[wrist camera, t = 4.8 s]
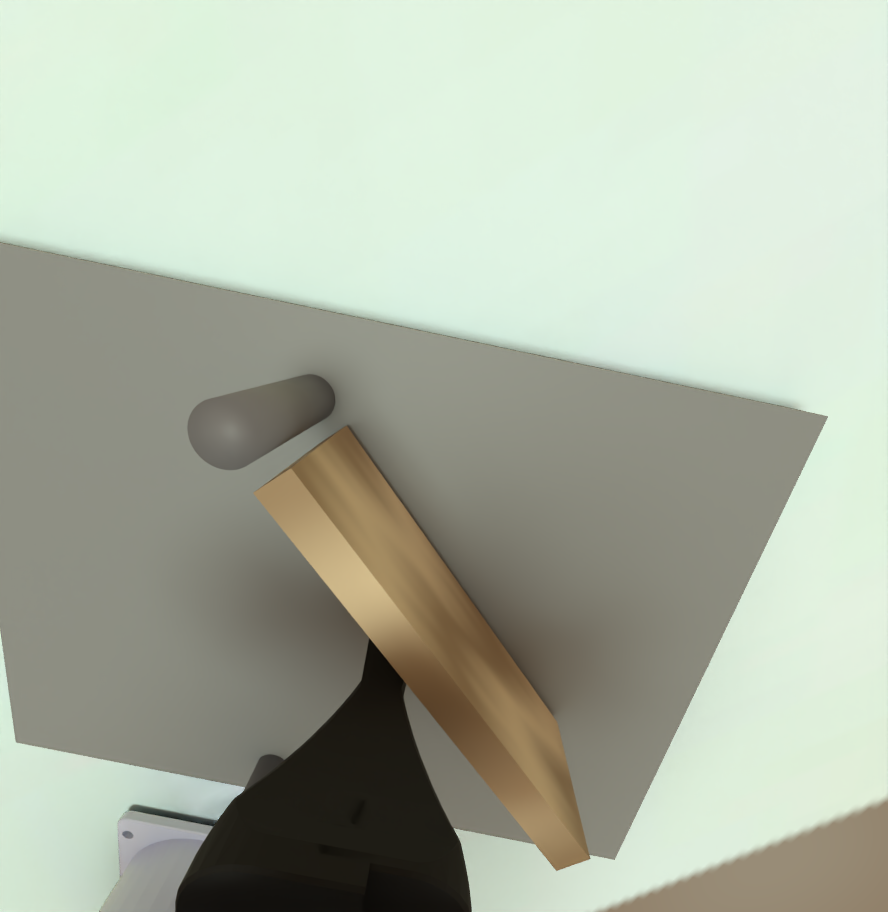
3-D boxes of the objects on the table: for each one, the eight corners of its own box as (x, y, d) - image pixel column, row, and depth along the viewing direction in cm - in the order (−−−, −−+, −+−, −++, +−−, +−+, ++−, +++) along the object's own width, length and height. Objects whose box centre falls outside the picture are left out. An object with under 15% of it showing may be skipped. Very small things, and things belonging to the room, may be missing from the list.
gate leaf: (557, 722, 15) (590, 858, 11) (532, 732, 15) (556, 870, 11) (346, 425, 12) (290, 468, 8) (319, 442, 12) (253, 493, 8)
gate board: (605, 826, 18) (667, 1043, 13) (44, 715, 18) (-145, 888, 12) (794, 409, 13) (1052, 466, 7) (-8, 240, 12) (-390, 164, 7)
